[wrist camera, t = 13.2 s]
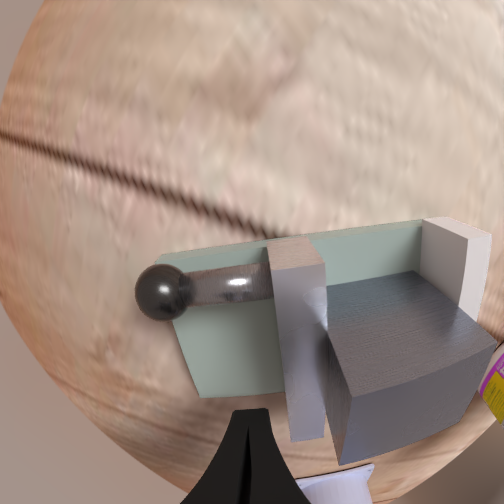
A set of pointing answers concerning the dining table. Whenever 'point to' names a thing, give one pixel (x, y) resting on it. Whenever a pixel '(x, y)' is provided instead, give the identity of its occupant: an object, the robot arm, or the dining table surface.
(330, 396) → the block
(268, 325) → the base
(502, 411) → the supplement bottle
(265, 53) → the dining table surface
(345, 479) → the robot arm
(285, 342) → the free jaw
